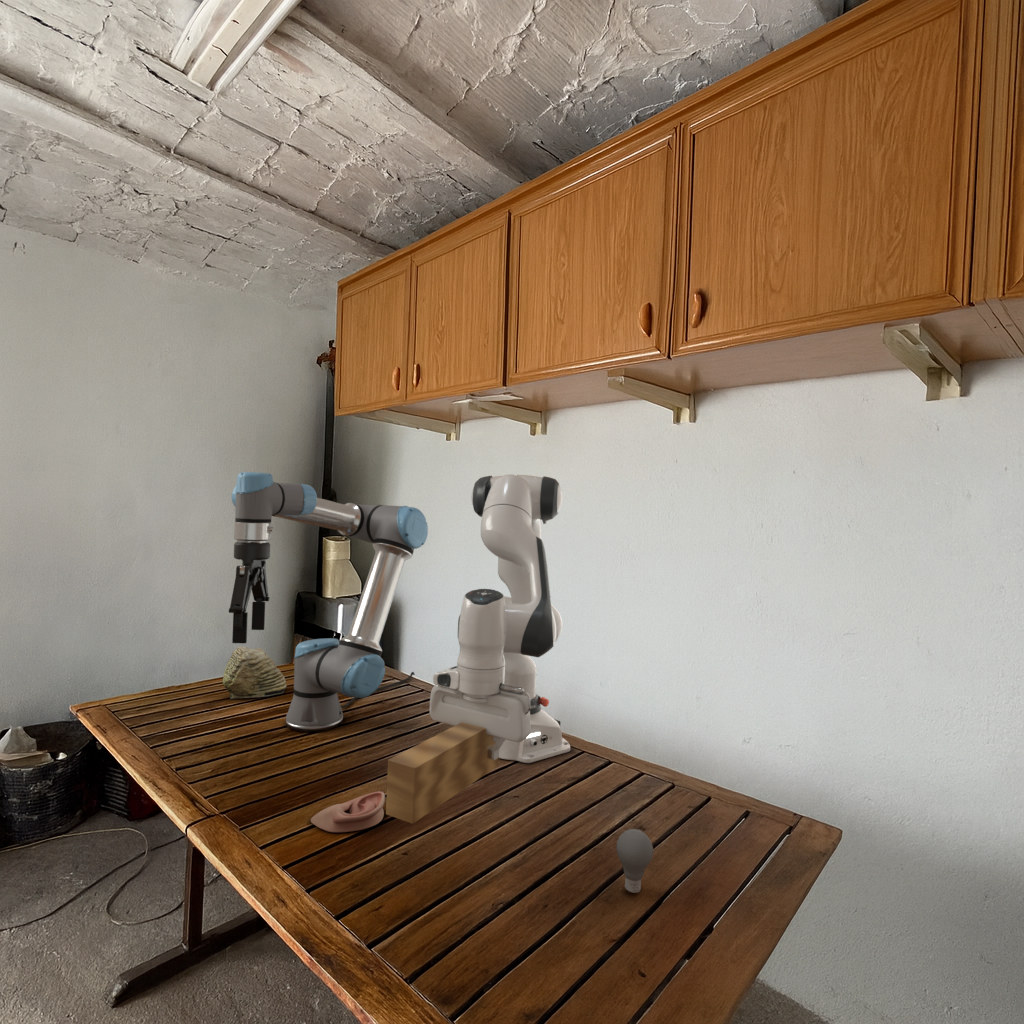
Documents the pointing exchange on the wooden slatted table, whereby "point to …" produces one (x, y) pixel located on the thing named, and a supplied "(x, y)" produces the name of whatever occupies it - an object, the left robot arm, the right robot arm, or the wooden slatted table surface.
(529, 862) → the wooden slatted table surface
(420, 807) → the bar
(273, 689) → the fossil
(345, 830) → the anatomical model
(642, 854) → the light bulb
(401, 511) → the left robot arm
